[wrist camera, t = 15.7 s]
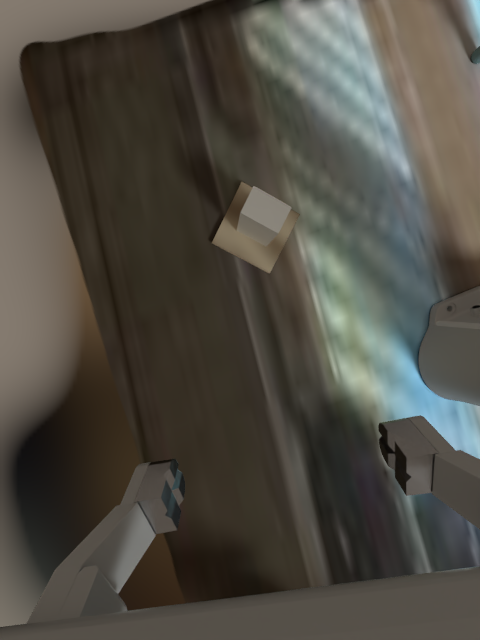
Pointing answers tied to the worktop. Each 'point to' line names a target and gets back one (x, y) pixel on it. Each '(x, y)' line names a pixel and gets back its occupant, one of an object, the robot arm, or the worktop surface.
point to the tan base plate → (246, 246)
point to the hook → (476, 56)
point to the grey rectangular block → (262, 216)
